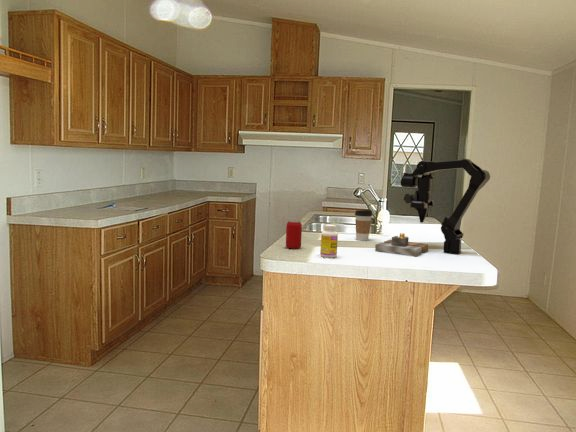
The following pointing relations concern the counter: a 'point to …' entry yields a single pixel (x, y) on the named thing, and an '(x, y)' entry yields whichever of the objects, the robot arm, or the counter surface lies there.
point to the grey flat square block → (401, 247)
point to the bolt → (402, 235)
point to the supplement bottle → (329, 241)
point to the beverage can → (293, 234)
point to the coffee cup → (363, 224)
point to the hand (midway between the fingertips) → (421, 222)
